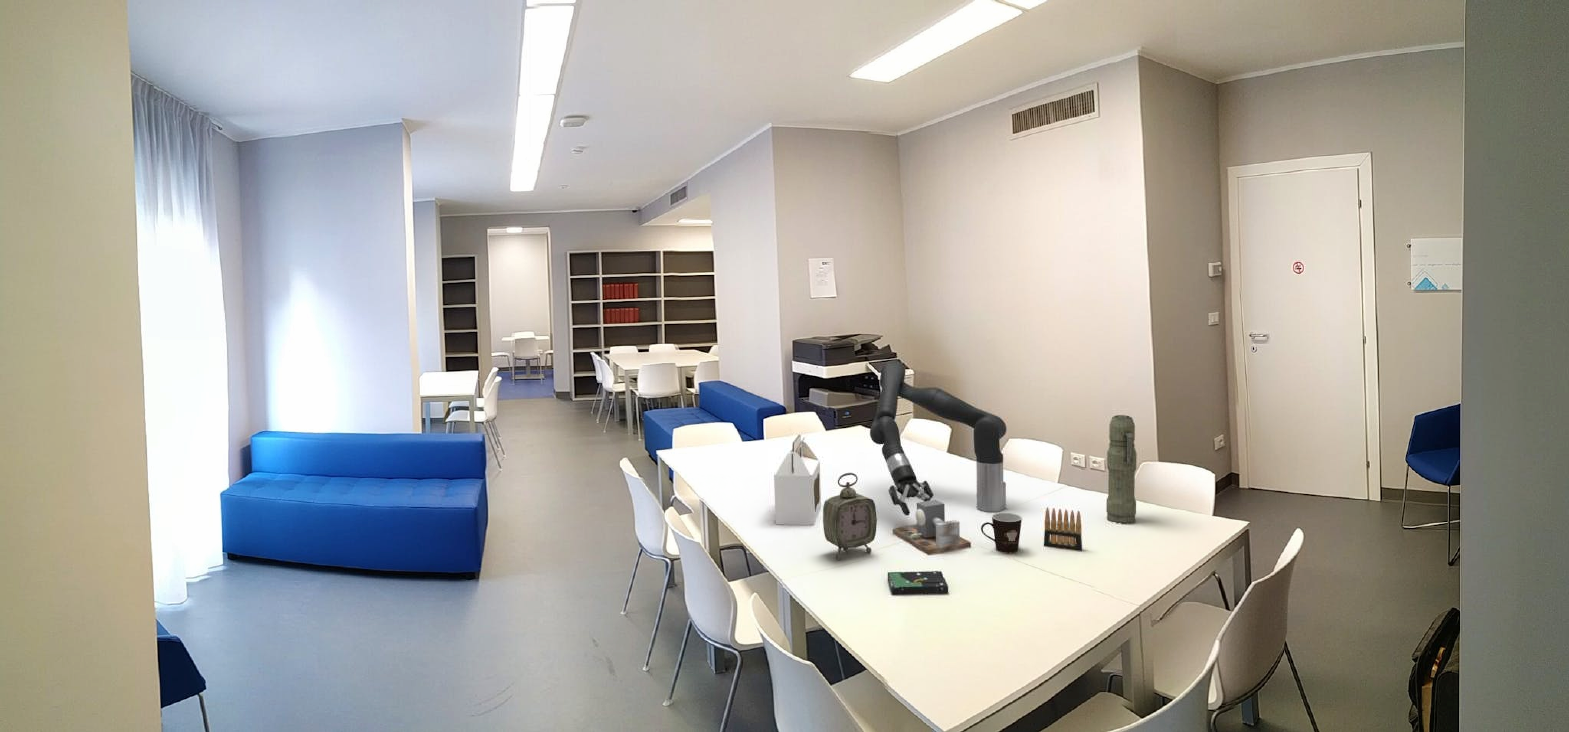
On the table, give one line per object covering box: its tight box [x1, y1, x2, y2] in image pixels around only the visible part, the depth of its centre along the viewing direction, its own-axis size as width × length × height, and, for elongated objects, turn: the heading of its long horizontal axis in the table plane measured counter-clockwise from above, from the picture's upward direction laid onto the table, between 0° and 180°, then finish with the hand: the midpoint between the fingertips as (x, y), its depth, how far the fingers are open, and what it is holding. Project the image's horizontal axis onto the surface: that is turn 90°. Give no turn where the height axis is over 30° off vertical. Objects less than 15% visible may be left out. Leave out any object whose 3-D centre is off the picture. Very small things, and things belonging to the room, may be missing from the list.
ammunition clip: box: [1043, 507, 1083, 552], centre depth 217 cm, size 11×2×12 cm, turn 61°
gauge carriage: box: [911, 499, 946, 538], centre depth 225 cm, size 10×8×10 cm
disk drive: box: [887, 570, 949, 596], centre depth 193 cm, size 10×3×15 cm
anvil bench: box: [892, 519, 972, 556], centre depth 228 cm, size 15×22×8 cm
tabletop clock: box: [822, 472, 878, 561], centre depth 217 cm, size 14×9×25 cm, turn 117°
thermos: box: [1105, 414, 1138, 525], centre depth 239 cm, size 9×12×35 cm
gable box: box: [773, 434, 822, 526], centre depth 257 cm, size 22×13×28 cm, turn 170°
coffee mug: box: [980, 512, 1023, 554], centre depth 218 cm, size 12×9×10 cm
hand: (919, 512), depth 233 cm, fingers open, 8 cm apart
